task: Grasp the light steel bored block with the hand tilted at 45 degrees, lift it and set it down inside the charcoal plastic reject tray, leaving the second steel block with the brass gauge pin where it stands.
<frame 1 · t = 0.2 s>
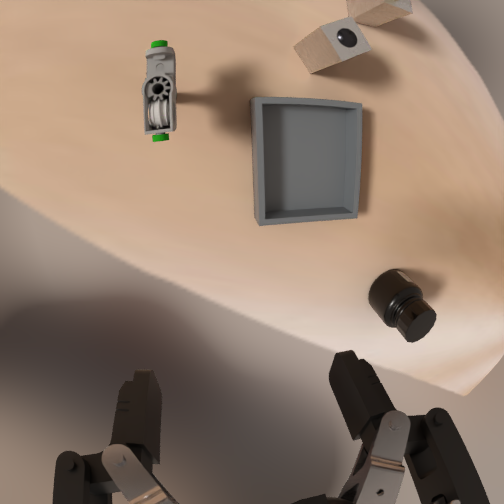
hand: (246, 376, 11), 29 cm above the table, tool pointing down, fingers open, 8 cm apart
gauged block: (360, 12, 27), on the table
reject tray: (303, 157, 36), on the table
mechanical component: (170, 98, 30), on the table
ink bottle: (385, 288, 49), on the table
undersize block: (314, 54, 30), on the table
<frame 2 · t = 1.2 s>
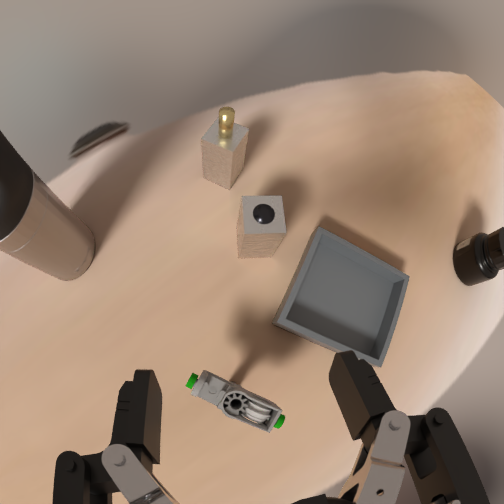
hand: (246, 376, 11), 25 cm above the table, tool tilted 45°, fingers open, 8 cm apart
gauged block: (223, 173, 42), on the table
reject tray: (342, 301, 38), on the table
mechanical component: (231, 387, 34), on the table
ink bottle: (464, 264, 43), on the table
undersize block: (253, 242, 39), on the table
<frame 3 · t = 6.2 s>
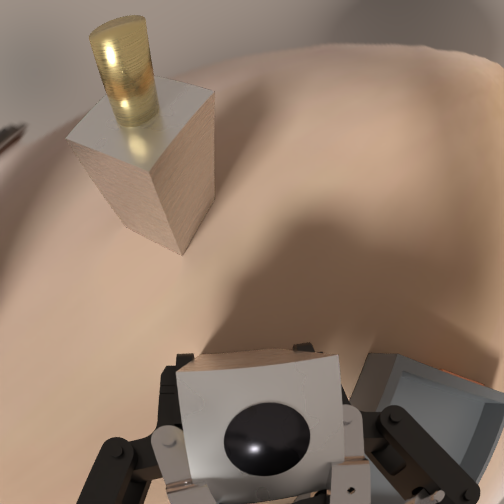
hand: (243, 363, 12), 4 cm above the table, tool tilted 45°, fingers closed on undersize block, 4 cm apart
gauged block: (169, 212, 18), on the table
reject tray: (408, 460, 14), on the table
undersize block: (241, 387, 15), on the table, touching gripper
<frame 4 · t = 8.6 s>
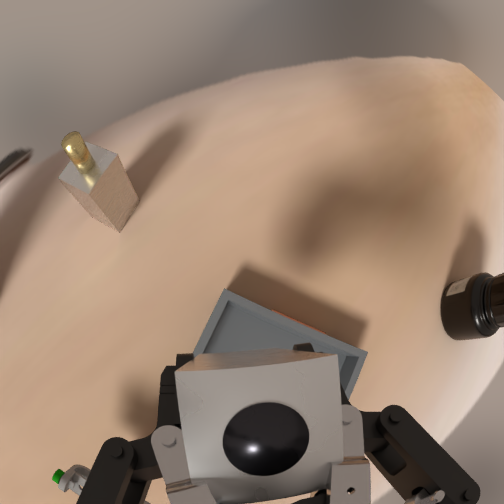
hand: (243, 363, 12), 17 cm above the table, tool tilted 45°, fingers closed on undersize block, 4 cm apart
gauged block: (115, 209, 30), on the table
reject tray: (264, 384, 27), on the table
mechanical component: (129, 469, 22), on the table
ink bottle: (456, 311, 33), on the table
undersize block: (241, 387, 15), point 12 cm above the table, touching gripper
when the fingers open (6 cm above the table, at t = 11.3 s): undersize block drops 1 cm, resting on reject tray.
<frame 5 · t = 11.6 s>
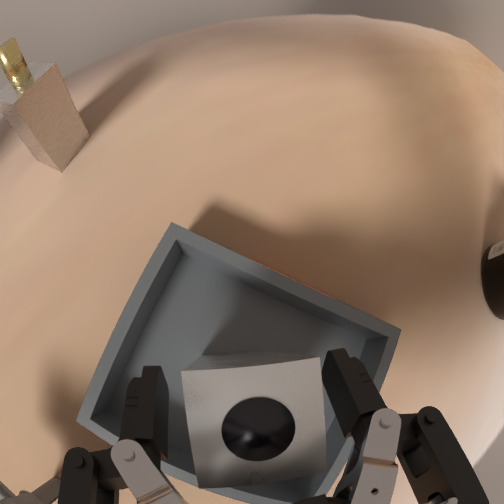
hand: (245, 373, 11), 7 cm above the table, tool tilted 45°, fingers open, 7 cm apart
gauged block: (62, 148, 21), on the table
reject tray: (239, 382, 17), on the table
mechanical component: (60, 484, 12), on the table
ink bottle: (498, 283, 22), on the table
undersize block: (239, 385, 17), resting on reject tray
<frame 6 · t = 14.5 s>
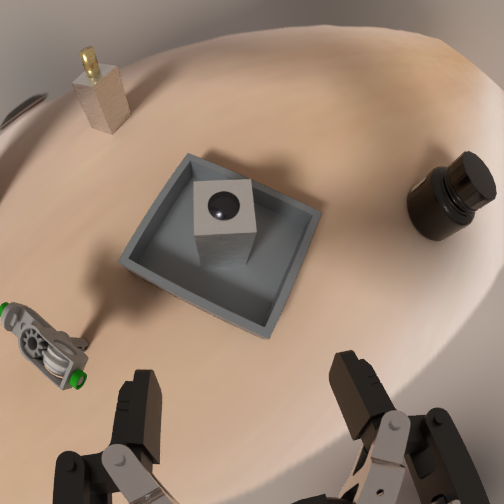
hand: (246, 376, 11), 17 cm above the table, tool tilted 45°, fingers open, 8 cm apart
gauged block: (111, 120, 34), on the table
reject tray: (222, 246, 30), on the table
mechanical component: (83, 345, 25), on the table
ink bottle: (427, 214, 36), on the table
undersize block: (222, 246, 30), resting on reject tray
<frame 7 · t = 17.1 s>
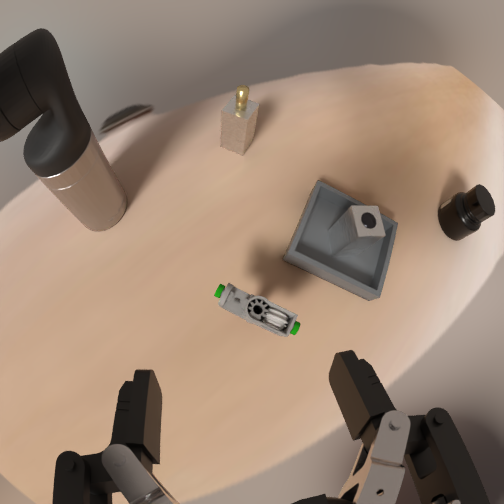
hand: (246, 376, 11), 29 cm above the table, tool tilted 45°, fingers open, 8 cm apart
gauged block: (236, 143, 49), on the table
reject tray: (341, 243, 45), on the table
mechanical component: (249, 316, 41), on the table
ink bottle: (449, 222, 51), on the table
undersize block: (342, 243, 45), resting on reject tray
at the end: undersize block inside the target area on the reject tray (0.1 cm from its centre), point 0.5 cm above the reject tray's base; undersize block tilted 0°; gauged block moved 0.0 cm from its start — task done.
